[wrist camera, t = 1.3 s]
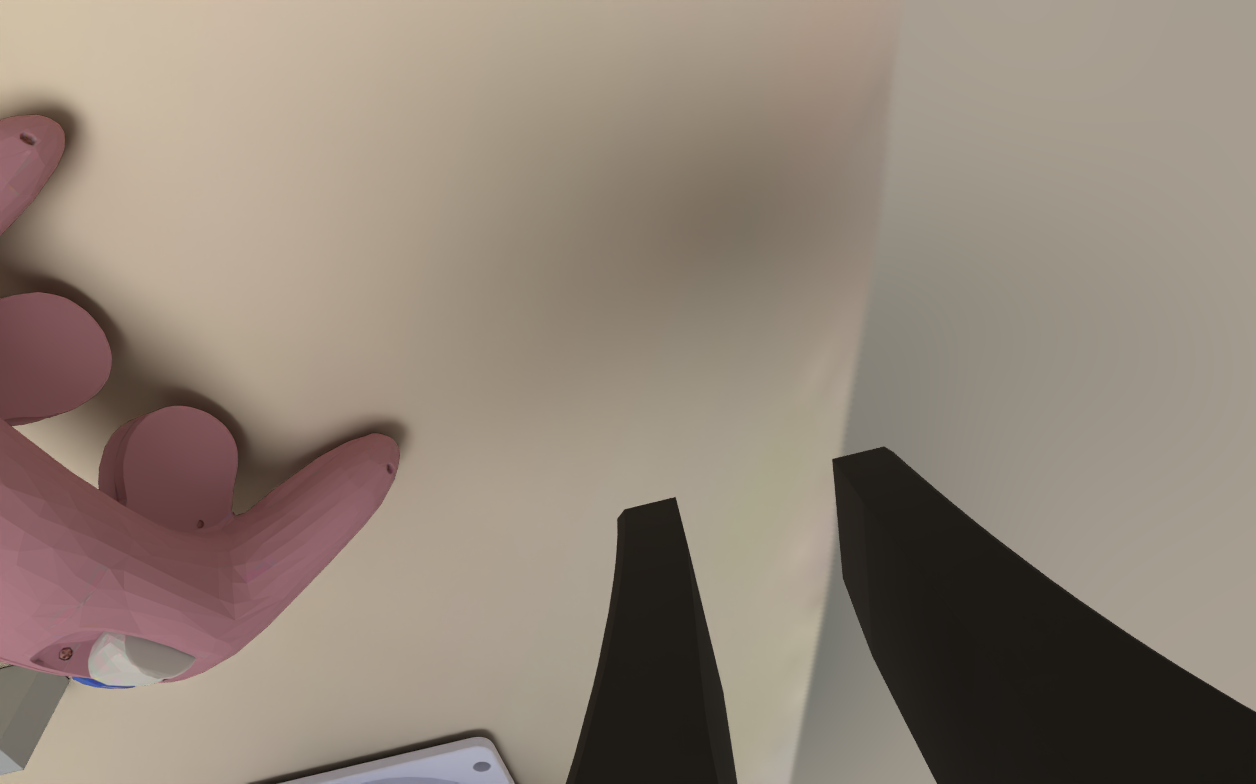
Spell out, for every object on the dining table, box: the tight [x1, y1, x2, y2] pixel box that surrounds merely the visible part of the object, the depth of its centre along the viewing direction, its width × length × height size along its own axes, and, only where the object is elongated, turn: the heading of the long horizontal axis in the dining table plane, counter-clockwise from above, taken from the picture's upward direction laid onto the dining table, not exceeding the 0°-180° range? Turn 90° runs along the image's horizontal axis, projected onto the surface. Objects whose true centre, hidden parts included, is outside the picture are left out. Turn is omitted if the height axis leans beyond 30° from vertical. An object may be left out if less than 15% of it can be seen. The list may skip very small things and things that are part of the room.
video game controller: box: [0, 114, 400, 689], centre depth 15 cm, size 10×5×7 cm, turn 32°
